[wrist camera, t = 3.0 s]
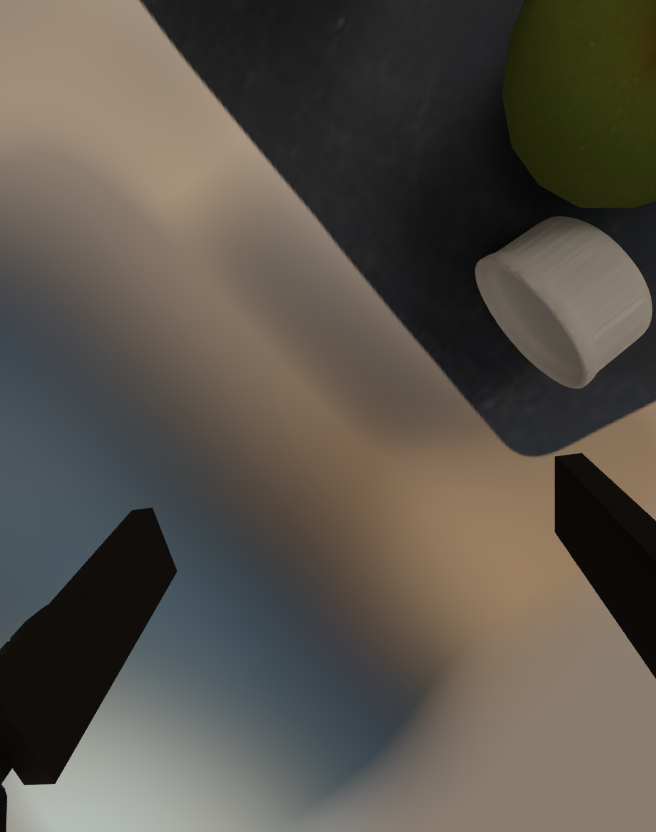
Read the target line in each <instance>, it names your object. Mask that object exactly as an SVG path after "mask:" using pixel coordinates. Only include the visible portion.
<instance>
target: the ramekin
mask: <svg viewBox="0 0 656 832" xmlns="http://www.w3.org/2000/svg"><path fill="white" fill-rule="evenodd" d="M475 277H476V282H477V285H478V288H479V290H480V293H481V296H482V297H483V300H484V302H485V304H486V305H487V307H488V309H489V311H490V313H491V314H492V316H493V317H494V319H495V320H496V322H497V324H498V325H499V326H500V328H501V329H502V330H503V332H504V333H505V334H506V336H507V337H508V338H509V339H510V341H511V342H512V343H513V344H514V345H515V346H516V348H517V349H518V350H519V351H520V352H521V353H522V354H523V355H524V356H525V357H526V358H527V359H528V360H529V361H530V362H531V363H532V364H534V365H535V366H536V367H537V368H538V369H539V370H541V371H542V372H543V373H545V374H546V375H547V376H549V377H550V378H552V379H553V380H555V381H557V382H558V383H560V384H562V385H564V386H567V387H569V388H576V389H579V388H580V389H581V388H583V387H585V386H586V385H587V384H588V383H589V382H590V381H591V380H592V379H593V378H594V377H595V375H596V373H597V372H598V371H599V370H601V369H602V368H603V367H604V366H605V365H607V364H608V363H609V362H610V361H611V360H613V359H614V358H615V357H616V356H618V355H619V354H620V353H621V352H622V351H624V350H625V349H626V348H627V347H629V346H630V345H631V344H632V343H633V342H635V341H636V340H637V339H638V338H639V337H640V336H642V335H643V334H644V333H645V331H646V330H647V328H648V327H649V324H650V321H651V318H652V301H651V296H650V293H649V289H648V287H647V284H646V282H645V280H644V278H643V276H642V274H641V273H640V271H639V269H638V268H637V266H636V265H635V264H634V262H633V261H632V260H631V258H630V257H629V256H628V255H627V254H626V252H625V251H624V250H623V249H622V248H621V247H620V246H619V245H618V244H617V243H616V242H615V241H614V240H613V239H612V238H610V237H609V236H608V235H606V234H605V233H603V232H602V231H601V230H599V229H598V228H596V227H594V226H593V225H591V224H589V223H587V222H584V221H582V220H579V219H576V218H571V217H564V216H556V217H551V218H549V219H546V220H544V221H542V222H540V223H539V224H537V225H536V226H534V227H533V228H531V229H530V230H528V231H527V232H525V233H524V234H522V235H521V236H519V237H518V238H517V239H515V240H514V241H512V242H511V243H509V244H508V245H506V246H505V247H503V248H502V249H500V250H499V251H497V252H496V253H493V254H490V255H488V256H486V257H484V258H482V259H481V260H479V261H478V263H477V264H476V267H475Z"/></svg>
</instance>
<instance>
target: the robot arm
mask: <svg viewBox="0 0 656 832" xmlns="http://www.w3.org/2000/svg"><path fill="white" fill-rule="evenodd" d="M555 533H556V534H557V536H558V537H559V539H560V540H561V542H562V543H563V544H564V546H565V547H566V549H567V550H568V552H569V553H570V554H571V556H572V558H573V559H574V561H575V562H576V564H577V565H578V566H579V568H580V569H581V571H582V572H583V573H584V575H585V576H586V578H587V579H588V581H589V582H590V584H591V585H592V587H593V588H594V589H595V591H596V593H597V594H598V595H599V597H600V598H601V600H602V601H603V603H604V604H605V606H606V607H607V608H608V610H609V611H610V613H611V614H612V616H613V617H614V619H615V620H616V622H617V623H618V625H619V626H620V627H621V629H622V630H623V632H624V633H625V635H626V636H627V638H628V639H629V640H630V642H631V643H632V645H633V646H634V648H635V649H636V651H637V652H638V653H639V655H640V656H641V658H642V659H643V661H644V662H645V664H646V665H647V667H648V668H649V669H650V671H651V672H652V674H653V675H654V677H655V678H656V521H655V520H654V519H653V518H652V517H651V516H650V515H649V514H648V513H647V512H645V511H644V510H643V509H642V508H641V507H640V506H639V505H638V504H637V503H636V502H635V501H633V500H632V499H631V498H630V497H629V496H628V495H627V494H626V493H625V492H624V491H622V490H621V489H620V488H619V487H618V486H617V485H616V484H615V483H614V482H613V481H612V480H611V479H609V478H608V477H607V476H606V475H605V474H604V473H603V472H602V471H601V470H600V469H599V468H597V467H596V466H595V465H594V464H593V463H592V462H591V461H590V460H589V459H588V458H587V457H585V456H584V455H583V454H582V453H579V454H570V455H563V456H555ZM176 573H177V570H176V567H175V565H174V562H173V559H172V557H171V554H170V552H169V549H168V546H167V544H166V541H165V539H164V536H163V534H162V531H161V529H160V526H159V523H158V521H157V519H156V516H155V513H154V511H153V508H146V509H138V510H132V511H131V512H130V513H129V514H128V515H127V516H126V518H125V519H124V520H123V521H122V522H121V523H120V524H119V525H118V527H117V528H116V529H115V530H114V531H113V532H112V534H111V535H110V536H109V537H108V538H107V539H106V540H105V541H104V542H103V544H102V545H101V546H100V547H99V548H98V549H97V550H96V551H95V553H94V554H93V555H92V556H91V557H90V558H89V559H88V561H87V562H86V563H85V564H84V565H83V566H82V567H81V569H80V570H79V571H78V572H77V573H76V574H75V575H74V576H73V578H72V579H71V580H70V581H69V582H68V583H67V584H66V585H65V587H64V588H63V589H62V590H61V591H60V592H59V593H58V594H57V596H56V597H55V598H54V599H53V600H52V601H51V602H50V604H49V605H46V606H45V607H44V608H42V609H41V610H40V611H38V612H37V613H36V614H34V615H33V616H32V617H30V619H28V620H27V621H26V622H25V623H24V624H23V625H22V626H21V627H20V628H19V629H18V630H17V632H16V633H15V634H14V635H13V636H12V637H11V638H10V639H11V640H10V641H9V642H6V644H5V645H4V646H3V647H2V648H1V649H0V832H6V814H7V812H6V811H7V795H6V792H5V788H4V787H3V786H2V785H1V784H2V782H3V781H4V779H5V778H6V776H7V775H8V774H9V772H10V771H11V769H12V768H13V770H14V771H15V772H16V774H17V775H18V777H19V778H20V780H21V781H22V783H23V784H24V785H37V784H38V785H39V784H55V783H56V781H57V780H58V778H59V776H60V774H61V773H62V771H63V769H64V767H65V766H66V764H67V762H68V761H69V759H70V757H71V755H72V754H73V752H74V750H75V748H76V747H77V745H78V743H79V741H80V740H81V738H82V736H83V734H84V733H85V731H86V729H87V727H88V726H89V724H90V722H91V720H92V719H93V717H94V715H95V714H96V712H97V710H98V708H99V707H100V705H101V703H102V701H103V699H104V698H105V696H106V694H107V693H108V691H109V689H110V687H111V686H112V684H113V682H114V680H115V679H116V677H117V675H118V673H119V672H120V670H121V668H122V666H123V665H124V663H125V661H126V660H127V658H128V656H129V654H130V653H131V651H132V649H133V647H134V646H135V644H136V642H137V640H138V639H139V637H140V635H141V633H142V632H143V630H144V628H145V627H146V625H147V623H148V621H149V620H150V618H151V616H152V614H153V612H154V611H155V609H156V607H157V606H158V604H159V602H160V600H161V599H162V597H163V595H164V593H165V592H166V590H167V588H168V586H169V585H170V583H171V581H172V580H173V578H174V576H175V574H176Z"/></svg>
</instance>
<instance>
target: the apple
mask: <svg viewBox="0 0 656 832" xmlns="http://www.w3.org/2000/svg"><path fill="white" fill-rule="evenodd" d="M502 99H503V104H504V109H505V114H506V120H507V125H508V130H509V136H510V141H511V146H512V148H513V150H514V151H515V152H516V154H517V155H518V157H519V158H520V159H521V161H522V162H523V164H524V165H525V166H526V168H527V169H528V171H529V172H530V173H531V175H532V176H533V178H534V179H535V180H536V182H537V183H538V185H539V186H541V187H543V188H545V189H547V190H548V191H550V192H552V193H554V194H556V195H558V196H559V197H561V198H563V199H565V200H567V201H568V202H570V203H572V204H574V205H576V206H577V207H579V208H636V207H639V206H642V205H645V204H648V203H651V202H654V201H656V0H525V2H524V4H523V7H522V9H521V11H520V13H519V15H518V17H517V19H516V22H515V24H514V26H513V28H512V30H511V33H510V40H509V48H508V55H507V62H506V69H505V76H504V83H503V90H502Z"/></svg>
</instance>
